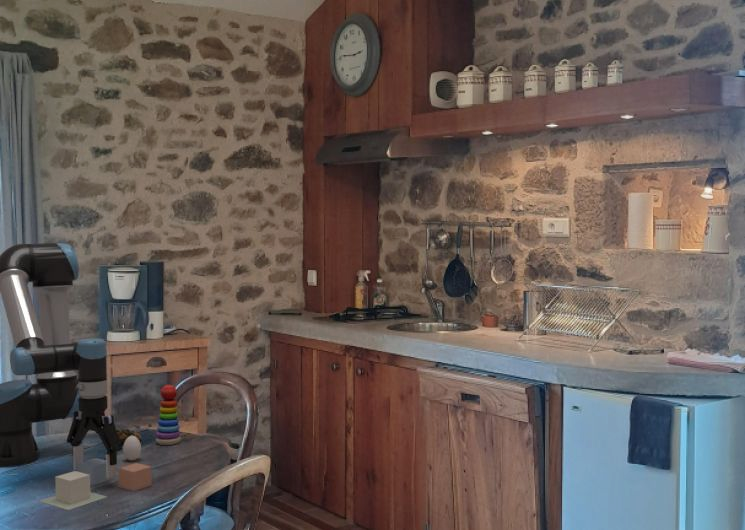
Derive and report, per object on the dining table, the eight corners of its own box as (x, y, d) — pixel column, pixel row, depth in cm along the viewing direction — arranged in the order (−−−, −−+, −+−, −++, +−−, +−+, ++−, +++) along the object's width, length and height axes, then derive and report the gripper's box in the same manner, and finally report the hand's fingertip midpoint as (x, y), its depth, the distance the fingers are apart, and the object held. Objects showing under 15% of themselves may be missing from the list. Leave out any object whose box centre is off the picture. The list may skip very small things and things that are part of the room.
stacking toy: (174, 446, 277) (173, 388, 275) (151, 445, 278) (150, 387, 277) (184, 440, 284) (184, 383, 283) (162, 438, 286) (161, 382, 285)
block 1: (55, 499, 223) (55, 476, 222) (75, 493, 228) (75, 471, 227) (70, 504, 219) (70, 480, 219) (90, 497, 224) (90, 474, 224)
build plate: (38, 504, 222) (38, 500, 222) (77, 491, 232) (77, 488, 232) (68, 513, 215) (68, 509, 215) (107, 499, 225) (107, 496, 225)
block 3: (118, 490, 233) (118, 468, 233) (136, 484, 238) (136, 462, 238) (134, 494, 230) (133, 472, 230) (151, 488, 235) (151, 466, 235)
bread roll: (109, 447, 275) (109, 431, 276) (102, 444, 285) (102, 428, 285) (145, 444, 280) (145, 428, 281) (136, 441, 290) (136, 426, 291)
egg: (144, 460, 261) (144, 436, 261) (128, 463, 258) (128, 439, 257) (136, 456, 265) (135, 432, 265) (119, 460, 261) (119, 435, 261)
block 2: (78, 484, 238) (77, 463, 238) (96, 479, 243) (95, 458, 243) (92, 488, 235) (92, 466, 234) (110, 482, 240) (110, 461, 239)
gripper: (52, 393, 241) (54, 469, 242) (112, 403, 227) (114, 483, 228) (75, 389, 247) (76, 463, 248) (134, 398, 234) (136, 476, 235)
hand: (94, 473), depth 238 cm, fingers open, 13 cm apart
